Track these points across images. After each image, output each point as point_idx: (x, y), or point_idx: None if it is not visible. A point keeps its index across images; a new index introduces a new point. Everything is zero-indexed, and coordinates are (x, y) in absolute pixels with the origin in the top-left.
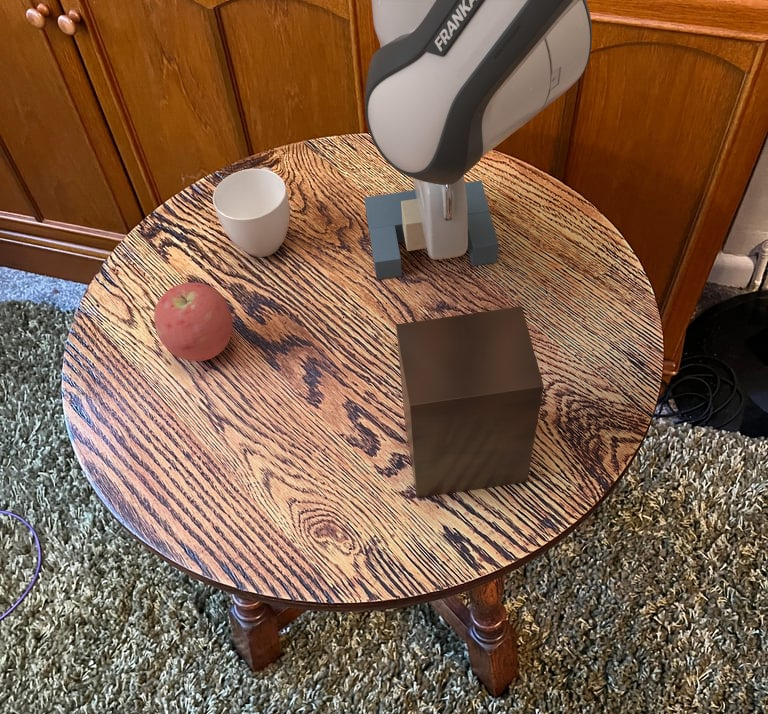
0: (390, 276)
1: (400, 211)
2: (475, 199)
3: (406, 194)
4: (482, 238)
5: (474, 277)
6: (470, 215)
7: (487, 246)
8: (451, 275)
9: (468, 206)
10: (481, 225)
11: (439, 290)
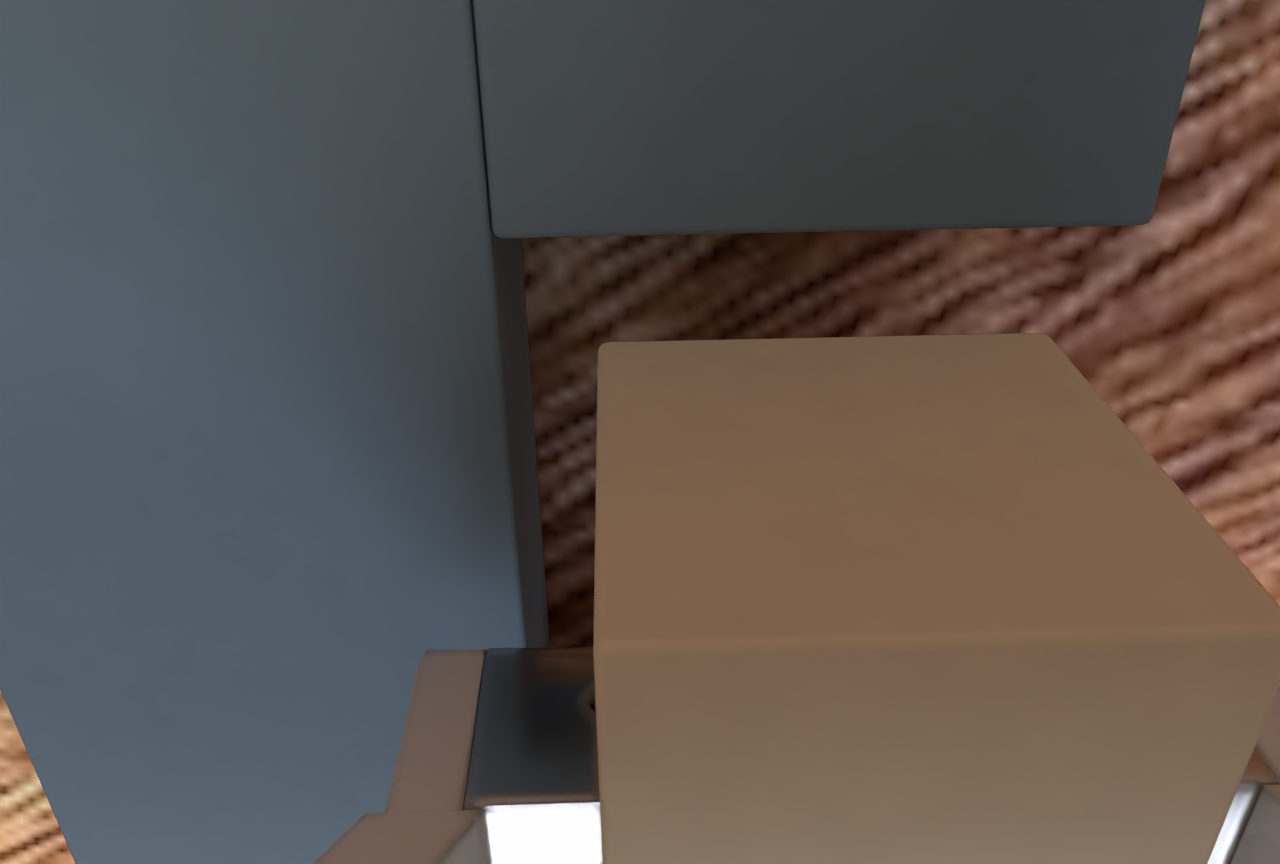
0: None
1: None
2: (155, 24)
3: (94, 784)
4: (1028, 58)
5: (1197, 137)
6: (514, 159)
7: (1201, 6)
8: (1072, 355)
9: (314, 158)
10: (756, 26)
11: (1204, 474)
